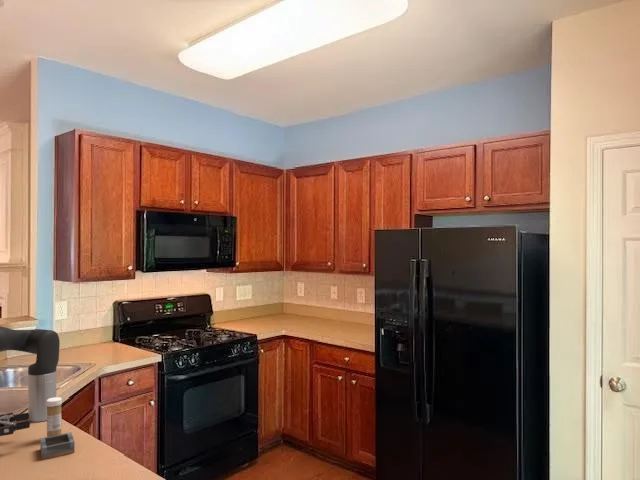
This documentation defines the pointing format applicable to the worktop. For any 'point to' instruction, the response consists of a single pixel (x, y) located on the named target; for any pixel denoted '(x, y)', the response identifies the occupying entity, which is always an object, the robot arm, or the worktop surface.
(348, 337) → the worktop surface
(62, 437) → the socket jig
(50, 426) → the sprinkles bottle
